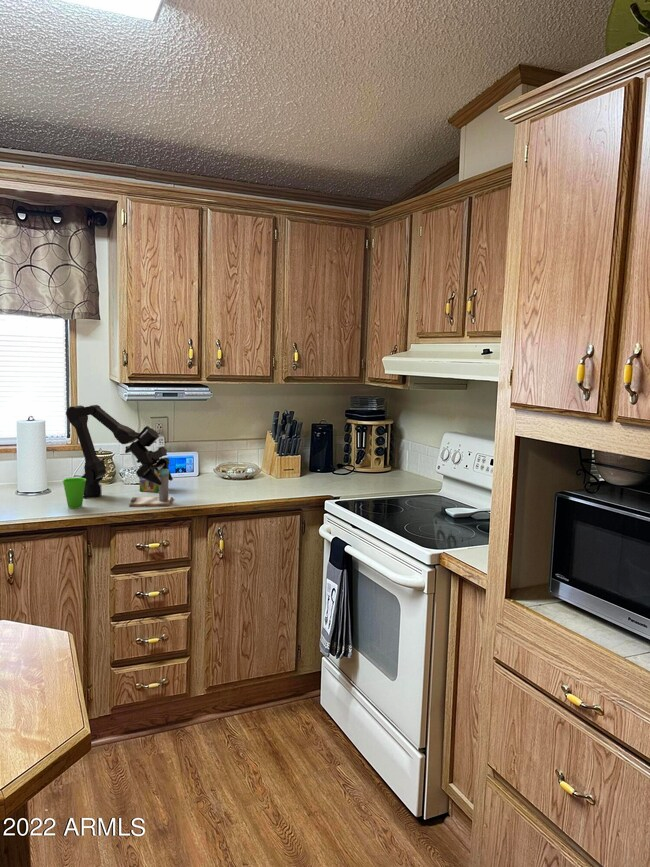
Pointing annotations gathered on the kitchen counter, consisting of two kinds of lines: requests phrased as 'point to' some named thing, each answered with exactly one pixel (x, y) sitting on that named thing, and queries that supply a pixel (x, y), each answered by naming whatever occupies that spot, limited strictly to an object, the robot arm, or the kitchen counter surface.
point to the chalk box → (149, 484)
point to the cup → (74, 491)
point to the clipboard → (149, 502)
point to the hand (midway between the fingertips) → (166, 482)
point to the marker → (163, 485)
